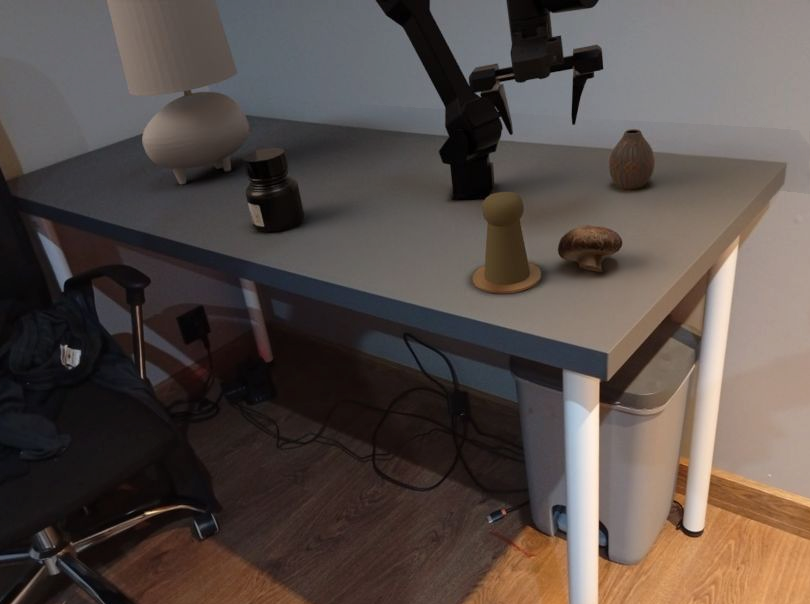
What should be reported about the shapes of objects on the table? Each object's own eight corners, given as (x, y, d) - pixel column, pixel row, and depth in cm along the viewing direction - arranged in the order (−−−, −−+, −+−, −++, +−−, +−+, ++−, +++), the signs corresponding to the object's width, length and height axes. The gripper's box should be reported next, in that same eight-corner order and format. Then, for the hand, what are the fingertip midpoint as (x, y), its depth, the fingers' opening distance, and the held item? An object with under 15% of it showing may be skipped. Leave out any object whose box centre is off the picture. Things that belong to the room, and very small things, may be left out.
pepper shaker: (535, 279, 95) (532, 199, 89) (490, 288, 94) (483, 207, 89) (522, 261, 100) (518, 183, 94) (479, 269, 100) (472, 191, 94)
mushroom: (606, 264, 89) (599, 214, 90) (550, 278, 95) (543, 231, 95) (635, 269, 95) (628, 223, 96) (581, 282, 101) (574, 238, 101)
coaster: (468, 294, 95) (468, 291, 95) (477, 263, 102) (477, 260, 102) (538, 293, 92) (538, 290, 92) (543, 262, 100) (543, 259, 100)
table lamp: (181, 200, 144) (112, -26, 123) (137, 182, 158) (68, -23, 138) (278, 165, 155) (231, -48, 134) (229, 151, 170) (178, -42, 149)
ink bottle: (260, 215, 130) (243, 148, 124) (308, 209, 130) (294, 142, 123) (248, 237, 122) (230, 167, 116) (300, 231, 121) (284, 160, 115)
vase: (655, 191, 115) (657, 136, 111) (609, 194, 117) (610, 139, 113) (651, 176, 121) (654, 123, 116) (608, 179, 123) (609, 126, 118)
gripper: (455, 37, 98) (473, 152, 105) (599, 8, 93) (608, 132, 100) (466, 27, 108) (482, 134, 115) (597, 1, 102) (606, 114, 109)
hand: (542, 129), depth 109 cm, fingers open, 9 cm apart
